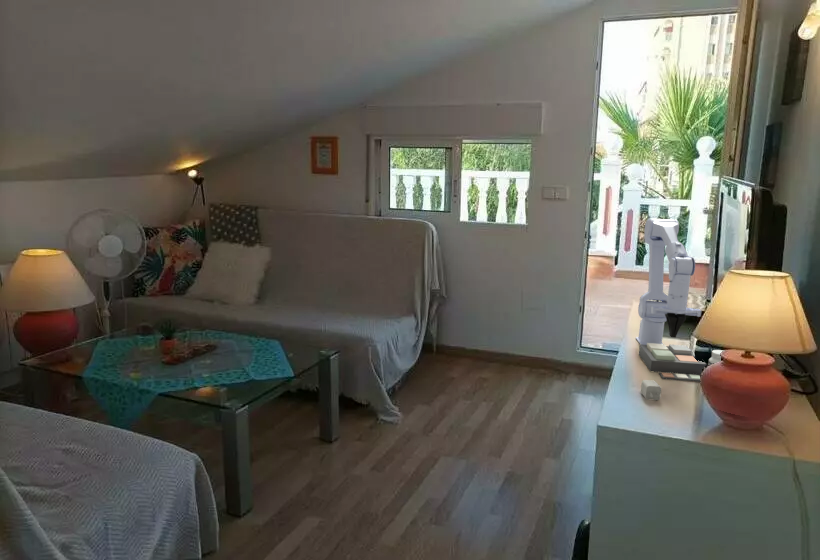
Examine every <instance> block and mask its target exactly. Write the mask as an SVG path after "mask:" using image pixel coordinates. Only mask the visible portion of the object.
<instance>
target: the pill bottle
mask: <svg viewBox="0 0 820 560" xmlns="http://www.w3.org/2000/svg"><path fill="white" fill-rule="evenodd" d="M722 351H724V350H721V349H713V350H712V351H711V357H710V358H709V359H708V363H707V366H708V365H711V364H713V363H716V362H719V361H721V356H720V353H721V352H722Z"/></svg>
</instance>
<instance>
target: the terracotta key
mask: <svg viewBox="0 0 820 560" xmlns="http://www.w3.org/2000/svg"><path fill="white" fill-rule="evenodd" d="M675 357H676V358H677V359H678V360H679V361H689V362H698V361H697V360H696V359H695V358H694V357H693V356H685V355H675Z"/></svg>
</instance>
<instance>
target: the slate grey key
mask: <svg viewBox="0 0 820 560" xmlns="http://www.w3.org/2000/svg"><path fill="white" fill-rule="evenodd" d="M668 346H669V350H670V351H671V352H672V353H673V354H688V355H691V352H692V351H691V350H690V349H689V348H690V347H689V346H688V345H685V344H681V345H680V344H670V343H669V344H668Z"/></svg>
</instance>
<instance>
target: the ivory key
mask: <svg viewBox="0 0 820 560" xmlns="http://www.w3.org/2000/svg"><path fill="white" fill-rule="evenodd" d="M666 346H667V345H666V344H665V343H663V344H656V343H647V349H648V350H649V351H650V352H652V350H664V351H669V349H668V348H667V347H666Z"/></svg>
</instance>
